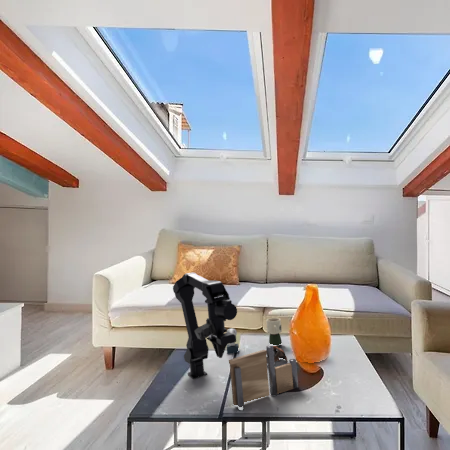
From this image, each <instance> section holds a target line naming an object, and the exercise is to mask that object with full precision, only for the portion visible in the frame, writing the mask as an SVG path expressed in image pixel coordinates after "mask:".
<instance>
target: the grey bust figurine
mask: <svg viewBox="0 0 450 450" xmlns="http://www.w3.org/2000/svg"><path fill="white" fill-rule="evenodd" d="M228 332H230V333H232V334H234V335H235V336H236V337H237V334H238V331H237V330H236V328H228V329H227V332H226V333H228ZM238 348H239V349H240V346H239V343H236V342H234V343H230V344H227V346H226V354H227V355H229V354H230V355H231V354H238V353H237V351H238Z"/></svg>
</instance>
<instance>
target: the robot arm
mask: <svg viewBox="0 0 450 450" xmlns="http://www.w3.org/2000/svg"><path fill="white" fill-rule="evenodd" d="M195 289H198V290H199V291H201V293H202V296H203V297H205V298H206V299H205V300H204V303H205V304H207V313H208V315H207V316H208V318H206V320H205V323H204V324H202V325H200V326H199V324H198V320H197V316H196V311H195V306H194V303H193V300H194V296H195ZM172 291H173V294H174V295H175V299H177V301H178V302H179V303H180V304H181V309H182V314H183V318H184V322H185V327H186V331H187V337H188V338H187V342H186V352H185V353H184V355H183V358H184V359H183V360H184V362H186V363H188V364H189V371H188V372H187V375H188V376H189V377H190V378H192V379H198V378H200V377H204V376H207V375H208V373H207V371H205V366H204V365H205V364H204V360H206V359H208V357H209V346H208V342H207V340H208V341H209V342H210V343H211V345H212V347H213V349H214V350H213V351H214V352H215V354H216V357H218V358H219V359H222V358H223V356H224V353H225V351H226V349H227V344H230V343H234V342H235V343H236V342H237V335H236V336H235V335H234V334H232V333H230V332H228V333H227V330H228V329H227V328H225V327H226V326H225V322H226V321H227V320H228V321H233V320H234V319H235V318H236V317H237V314H238V308H237V306H236V305H235V304H234V303H232V302H233V301H232V300H231V297H230V296H229V295H230V294H229V292H228V291H227V289H226V286H225V285H224V284H223V282H222V281H220V280H208V279H207V278H205V277H203V276H200V275H199V274H197V273H196V272H189V273H187V272H186V273H184V274H183V275H182V276H181V278H179V279H177V280H176V281H175V283H174V284H173V285H172Z"/></svg>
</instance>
